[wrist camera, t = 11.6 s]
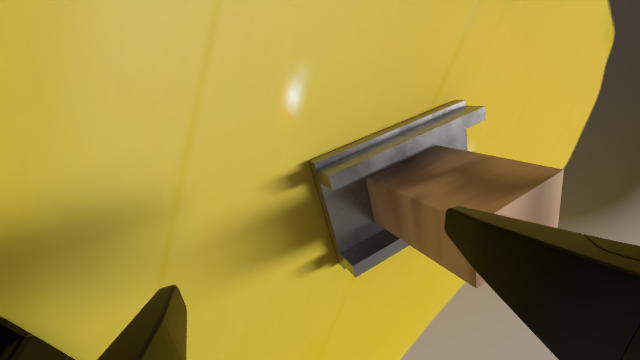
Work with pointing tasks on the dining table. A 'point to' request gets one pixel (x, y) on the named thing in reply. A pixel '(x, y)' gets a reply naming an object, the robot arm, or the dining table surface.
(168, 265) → the dining table surface
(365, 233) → the door track
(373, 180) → the brown wooden block
